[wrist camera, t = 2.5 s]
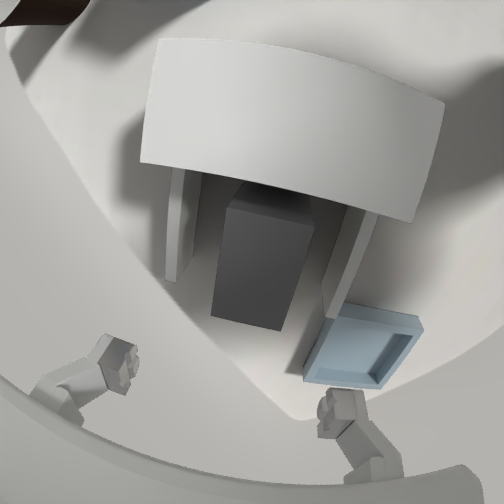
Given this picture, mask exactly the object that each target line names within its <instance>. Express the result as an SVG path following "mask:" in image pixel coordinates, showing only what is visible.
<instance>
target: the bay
mask: <svg viewBox="0 0 504 504" xmlns="http://www.w3.org/2000/svg"><path fill="white" fill-rule="evenodd" d="M445 105H446V104H445V103H443V102H441V101H439V100H437V99H435V98H433V97H431V96H429V95H427V94H425V93H423V92H421V91H419V90H417V89H415V88H413V87H410V86H408V85H406V84H404V83H401V82H399V81H397V80H394V79H392V78H389V77H387V76H384V75H382V74H379V73H376V72H374V71H371V70H368V69H365V68H362V67H359V66H356V65H353V64H350V63H347V62H344V61H340V60H337V59H333V58H330V57H326V56H322V55H318V54H314V53H310V52H306V51H301V50H297V49H292V48H287V47H281V46H276V45H270V44H263V43H256V42H248V41H239V40H229V39H215V38H186V37H178V38H159V40H158V44H157V48H156V53H155V58H154V62H153V68H152V73H151V78H150V84H149V90H148V96H147V103H146V110H145V117H144V125H143V134H142V143H141V154H140V162H142V163H150V164H157V165H163V166H170V167H172V173H171V183H170V194H169V206H168V220H167V237H166V260H165V280H166V281H170V282H173V283H176V282H177V280H178V279H179V277H180V275H181V274H182V272H183V271H184V269H185V268H186V266H187V264H188V263H189V261H190V260H191V258H192V257H193V251H194V241H195V232H196V223H197V214H198V206H199V198H200V190H201V182H202V175H203V172H206V173H212V174H217V175H222V176H227V177H233V178H238V179H243V180H247V181H252V182H257V183H262V184H266V185H271V186H275V187H279V188H284V189H288V190H292V191H296V192H301V193H305V194H309V195H313V196H317V197H320V198H324V199H328V200H332V201H336V202H339V203H343V204H347V205H348V207H347V210H346V213H345V216H344V220H343V223H342V226H341V229H340V232H339V235H338V238H337V241H336V243H335V246H334V249H333V252H332V255H331V258H330V261H329V263H328V266H327V269H326V272H325V274H324V277H323V280H322V282H321V291H322V298H323V305H324V313H325V317H328V318H333V319H336V317H337V315H338V313H339V311H340V309H341V307H342V305H343V302H344V300H345V298H346V296H347V293H348V291H349V289H350V287H351V284H352V282H353V280H354V277H355V275H356V273H357V270H358V268H359V265H360V263H361V260H362V258H363V255H364V253H365V250H366V248H367V245H368V242H369V240H370V237H371V234H372V232H373V229H374V226H375V224H376V221H377V218H378V215H379V214H381V215H384V216H387V217H391V218H394V219H397V220H400V221H403V222H406V223H409V224H411V223H412V221H413V218H414V215H415V212H416V210H417V207H418V204H419V201H420V198H421V195H422V192H423V189H424V186H425V183H426V180H427V177H428V174H429V170H430V167H431V163H432V160H433V156H434V153H435V149H436V145H437V141H438V137H439V133H440V129H441V124H442V120H443V115H444V110H445Z"/></svg>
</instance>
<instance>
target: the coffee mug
mask: <svg viewBox="0 0 504 504" xmlns="http://www.w3.org/2000/svg"><path fill="white" fill-rule="evenodd" d="M89 2H90V0H0V27H6V26H20V25H66V24H68V23H70V22H72V21H73V20H74V19H76V18H77V17H78V16H79V15H80V14H81V13H82V12H83V11H84V9H85V8H86V7H87V5H88V4H89Z"/></svg>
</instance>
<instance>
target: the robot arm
mask: <svg viewBox="0 0 504 504" xmlns="http://www.w3.org/2000/svg"><path fill="white" fill-rule="evenodd" d="M137 351H138V349H137V346H136V345H134V344H131V343H129V342H126V341H123V340H121V339H118V338H116V337H113V336H110V335H108V334H104V335H103V336H102V337H101V338H100V340H99V341H98V342H97V344H96V345H95V347H94V348H93V350H92V351H91V353H90V354H89V355H88V357H87V358H82V359H79V360H77V361H75V362H73V363H71V364H68V365H66V366H63V367H61V368H59V369H56V370H54V371H52V372H50V373H47V374H45V375H43V376H42V377H41V379H40V380H39V381H38V383H37V384H36V386H35V388H34V389H33V390H32V392H31V393H30V395H27V394H25V393H24V392H23V391H21V390H20V389H19V388H17V387H15V386H14V385H13V384H12V383H10V382H9V381H8V380H7V379H5V378H4V377H3V376H1V375H0V504H484V497H483V489H482V485H481V482H480V480H479V478H478V477H477V476H476V475H475V474H474V473H473V472H472V471H471V470H470V469H469V468H468V467H466V466H465V465H456V466H453V467H449V468H446V469H442V470H438V471H434V472H430V473H426V474H421V475H416V476H411V477H406V478H404V472H403V466H402V459H401V454H400V453H399V452H398V450H397V449H396V448H395V447H394V446H393V445H392V444H391V442H390V441H389V440H388V439H387V438H386V437H385V436H384V435H383V433H382V432H381V431H380V430H379V429H378V428H377V426H376V425H375V424H374V423H373V422H372V421H369V420H368V413H367V408H366V402H365V397H364V392H363V391H362V390H353V389H344V388H331V387H330V388H328V390H327V391H326V396H324V397H322V398H321V400H320V401H319V404H318V408H317V417H318V419H319V420H320V421H321V422H320V423H319V424H318V426H317V427H318V438H325V439H336V442H337V443H338V445H339V446H340V448H341V450H342V451H343V453H344V455H345V456H346V458H347V459H348V461H349V463H350V464H351V466H352V467H353V469H354V470H353V471H351V472H350V473H348V474H347V475H345V476H344V484H342V485H341V484H340V485H301V484H282V483H271V482H261V481H253V480H246V479H240V478H233V477H228V476H222V475H217V474H212V473H208V472H203V471H199V470H195V469H191V468H187V467H183V466H180V465H176V464H173V463H169V462H166V461H163V460H160V459H157V458H154V457H151V456H148V455H145V454H142V453H139V452H137V451H134V450H132V449H129V448H126V447H124V446H121V445H119V444H116V443H114V442H112V441H110V440H107V439H105V438H103V437H101V436H99V435H97V434H94V433H92V432H90V431H88V430H86V429H84V428H82V427H81V426H82V424H83V422H84V418H83V416H82V414H81V413H80V411H79V408H81V407H83V406H84V405H86V404H87V403H89V402H91V401H92V400H94V399H95V398H97V397H98V396H100V395H102V394H103V393H105V392H106V391H108V389H109V390H111V391H114V392H116V393H119V394H122V395H126V393H127V391H128V389H129V387H130V385H131V383H130V379H131V378H133V377H135V375H136V373H137V370H138V367H139V357H138V356H137V355H136V353H137Z"/></svg>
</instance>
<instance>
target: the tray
mask: <svg viewBox="0 0 504 504" xmlns="http://www.w3.org/2000/svg"><path fill="white" fill-rule="evenodd" d="M423 332H424V328H423V326H422V324H421V322H420V320H419V318H418V316H415V315H409V314H403V313H398V312H392V311H387V310H382V309H376V308H371V307H366V306H361V305H355V304H350V303H345V302H343V305H342V307H341V309H340V311H339V313H338V315H337V317H336V319H333V318H328V317H326V320H325V322H324V324H323V326H322V328H321V331H320V333H319V335H318V337H317V339H316V341H315V343H314V345H313V347H312V349H311V351H310V353H309V355H308V357H307V359H306V361H305V363H304V365H303V382H309V383H317V384H325V385H333V386H343V387H353V388H365V389H381V388H382V387H383V386H384V385H385V383H386V382H387V381H388V380H389V378H390V377H391V376H392V375H393V373H394V372H395V371H396V369H397V368H398V367H399V366H400V364H401V363H402V362H403V360H404V359H405V357H406V356H407V355H408V353H409V352H410V351H411V349H412V348H413V346H414V345H415V343H416V342H417V340H418V339H419V338H420V336H421V335H422V333H423Z"/></svg>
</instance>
